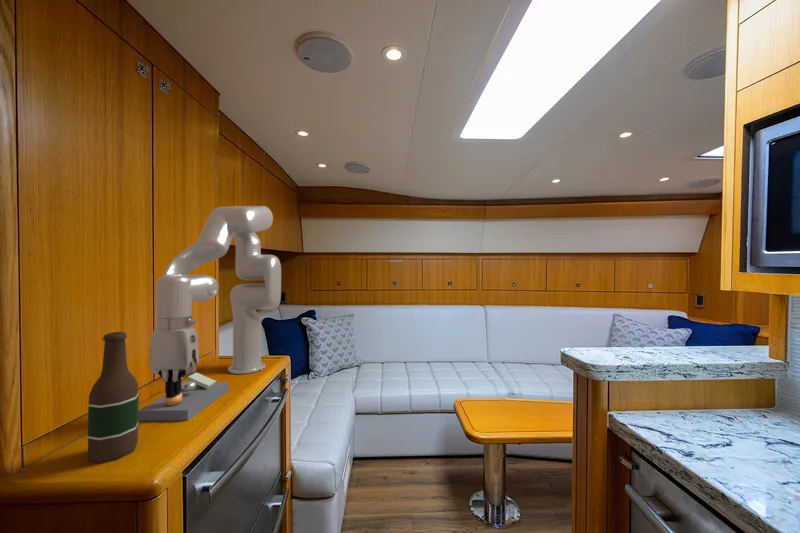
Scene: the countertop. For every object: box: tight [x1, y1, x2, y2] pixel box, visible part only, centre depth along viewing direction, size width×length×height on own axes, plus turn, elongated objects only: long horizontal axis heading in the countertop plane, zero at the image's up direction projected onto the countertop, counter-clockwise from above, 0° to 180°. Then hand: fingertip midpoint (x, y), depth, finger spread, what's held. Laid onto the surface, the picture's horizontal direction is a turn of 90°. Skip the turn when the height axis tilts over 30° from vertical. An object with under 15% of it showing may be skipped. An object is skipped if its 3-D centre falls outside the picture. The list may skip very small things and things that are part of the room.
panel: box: [138, 381, 230, 422], centre depth 90 cm, size 20×12×4 cm, turn 1°
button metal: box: [181, 380, 196, 392], centre depth 90 cm, size 4×4×2 cm
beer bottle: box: [87, 331, 140, 464], centre depth 66 cm, size 8×8×24 cm
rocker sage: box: [186, 371, 217, 389], centre depth 96 cm, size 4×6×1 cm, turn 91°
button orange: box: [164, 393, 182, 406], centre depth 84 cm, size 4×4×2 cm
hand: (173, 395), depth 84 cm, fingers closed
